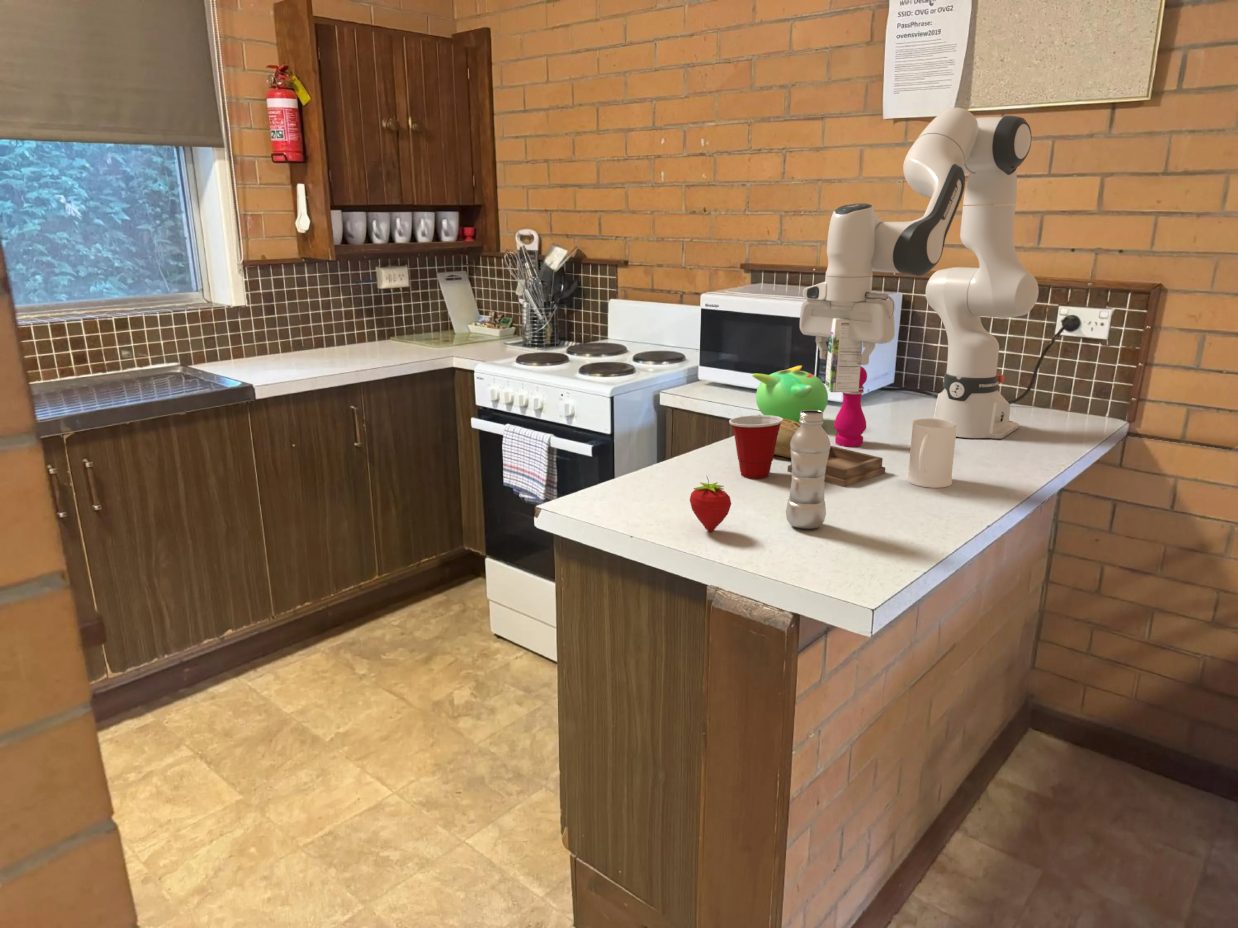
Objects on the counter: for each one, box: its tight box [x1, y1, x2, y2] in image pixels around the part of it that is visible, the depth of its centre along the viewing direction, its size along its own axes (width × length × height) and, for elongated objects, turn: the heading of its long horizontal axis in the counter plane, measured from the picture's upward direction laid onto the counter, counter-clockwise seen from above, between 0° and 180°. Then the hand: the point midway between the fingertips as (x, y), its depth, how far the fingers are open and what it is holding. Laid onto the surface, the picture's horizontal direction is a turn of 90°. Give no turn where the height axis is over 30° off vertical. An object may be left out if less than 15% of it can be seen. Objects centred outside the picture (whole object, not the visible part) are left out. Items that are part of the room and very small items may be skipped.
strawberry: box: [689, 475, 732, 532], centre depth 139 cm, size 6×8×10 cm
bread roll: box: [774, 419, 801, 459], centre depth 185 cm, size 10×15×8 cm, turn 56°
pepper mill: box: [833, 366, 868, 448], centre depth 191 cm, size 7×7×20 cm
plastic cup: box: [728, 414, 783, 480], centre depth 169 cm, size 11×11×12 cm
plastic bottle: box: [785, 410, 832, 530], centre depth 139 cm, size 6×7×20 cm
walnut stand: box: [787, 445, 886, 488], centre depth 172 cm, size 14×14×3 cm
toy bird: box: [751, 365, 829, 424], centre depth 210 cm, size 18×17×15 cm
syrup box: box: [824, 318, 863, 393], centre depth 165 cm, size 6×6×14 cm
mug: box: [906, 417, 957, 489], centre depth 163 cm, size 12×8×12 cm
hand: (843, 361), depth 166 cm, fingers closed on syrup box, 8 cm apart
